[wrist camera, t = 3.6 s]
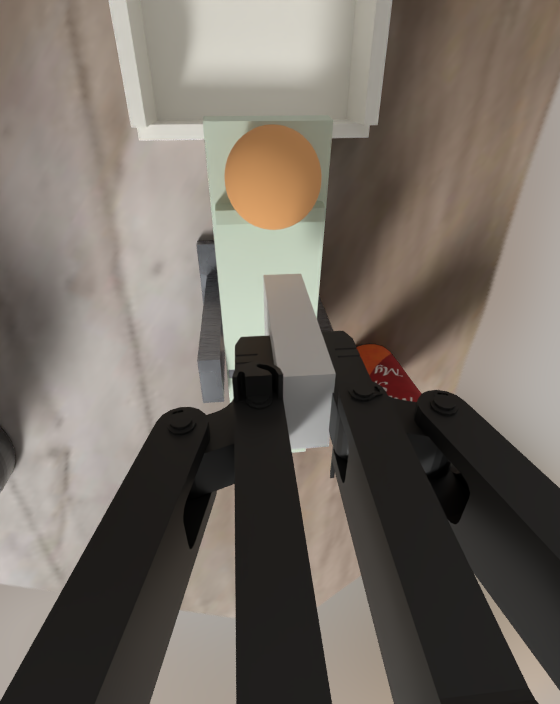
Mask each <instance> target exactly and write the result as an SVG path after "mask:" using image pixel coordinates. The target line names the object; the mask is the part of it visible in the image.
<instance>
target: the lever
mask: <svg viewBox="0 0 560 704" xmlns="http://www.w3.org/2000/svg"><path fill="white" fill-rule="evenodd" d="M270 124H275V125H282V126H286V127H289V128H292V129H294V130H295V131H297V132H299V133H300V134H301V135H303V136H304V137H305V138H306V139H307V140H308V141H309V143H310V144H311V145H312V147H313V148H314V150H315V152H316V154H317V156H318V159H319V162H320V167H321V174H322V178H321V188H320V193H319V196H318V199H317V201H316V203H315V205H314V207H313V208H312V210H311V211H310V212H309V213H308V215H307V216H306V217H305V218H304V219H302V220H301V221H300V222H298V223H296V224H295V225H293V226H290V227H288V228H284V229H279V230H268V229H262V228H259V227H256V226H254V225H252V224H250V223H249V222H247V221H246V220H244V219H243V218H242V217H241V216H240V215H239V214H238V213H237V211H236V210H235V209H234V207H233V206H232V204H231V202H230V200H229V198H228V195H227V192H226V187H225V175H224V174H225V166H226V162H227V158H228V156H229V154H230V151H231V150H232V148H233V146H234V145H235V143H236V142H237V141H238V140H239V139H240V138H241V137H242V136H243V135H244V134H246V133H247V132H248V131H250V130H252V129H254V128H256V127H259V126H263V125H270ZM203 131H204V141H205V151H206V161H207V171H208V182H209V192H210V202H211V212H212V223H213V233H214V243H215V253H216V263H217V274H218V284H219V294H220V304H221V315H222V325H223V335H224V345H225V355H226V366H227V376H228V386H229V396H230V403H231V402H232V400H233V398H234V396H233V384H232V376H233V373H234V371H235V344H236V343H237V342H238V340H239V339H240V337H248V336H265V329H264V287H263V275H276V274H301V275H302V278H303V281H304V283H305V286H306V289H307V292H308V295H309V298H310V301H311V304H312V307H313V309H314V312H315V315H316V318H317V309H318V297H319V285H320V273H321V261H322V250H323V238H324V226H325V214H326V202H327V190H328V179H329V167H330V155H331V143H332V131H333V119H332V118H331V117H330V116H329V115H289V116H204V117H203ZM291 451H292V452H305V451H306V448H301V449H291Z"/></svg>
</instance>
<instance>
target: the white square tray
mask: <svg viewBox="0 0 560 704" xmlns="http://www.w3.org/2000/svg"><path fill="white" fill-rule="evenodd" d="M109 6H110V12H111V17H112V23H113V28H114V34H115V40H116V45H117V51H118V56H119V62H120V68H121V73H122V79H123V84H124V90H125V95H126V101H127V107H128V112H129V118H130V123H131V128H133V127H137V131H138V137H139V141H143V140H204V131H203V117H204V116H289V115H329V116H330V117H331V118H332V119H333V131H332V138H368V137H369V128H370V125H378V118H379V110H380V101H381V93H382V84H383V76H384V67H385V59H386V50H387V42H388V33H389V25H390V16H391V8H392V0H109Z"/></svg>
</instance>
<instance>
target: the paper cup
mask: <svg viewBox="0 0 560 704" xmlns="http://www.w3.org/2000/svg"><path fill="white" fill-rule="evenodd" d="M357 349H358V352H359V354H360V357H361V358H362V360H363V362H364V365H365V367H366V369H367V371H368V373H369V376H370V378H371V380H372V381H373V382H376V383H377V384H379V385H380V386H382V387H383V388H384V390H385V391H386V392H387V394H388V396H390V397H392V398H396V399H400V400H406V401H412V402H417V400H418V398H419V397H420V395H421V392H420V391H419V390H418V388H417V387H416V386H415V384H414V383H413V382H412V380H411V379H410V378H409V376H408V375H407V374H406V372H405V371H404V369H403V368H402V367H401V365H400V364H399V363H398V361H397V360H396V359H395V357H394V356H393V355H392V354H391V353H390V351H388V350H387V349H386V348H384V347H383V346H380V345H376V344H366V345H361V346H358V347H357Z"/></svg>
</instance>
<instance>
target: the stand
mask: <svg viewBox="0 0 560 704" xmlns="http://www.w3.org/2000/svg"><path fill="white" fill-rule="evenodd" d="M197 253H198V261H199V270H200V278H201V287H202V296H203V304H204V306H203V315H202V324H201V333H200V342H199V351H198V360H197V361H198V369H199V376H200V383H201V390H202V398H203V403H209V402H224V364H225V345H224V335H223V325H222V315H221V304H220V294H219V284H218V274H217V263H216V253H215V243H214V241H197ZM317 321H318V324H319V327H320V330H321V332H327V331H333V329H332V326H331V324H330V321H329V319H328V316H327V314H326V312H325V309H324V307H323V304H322V302H321V299H320V297H318V309H317Z"/></svg>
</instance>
